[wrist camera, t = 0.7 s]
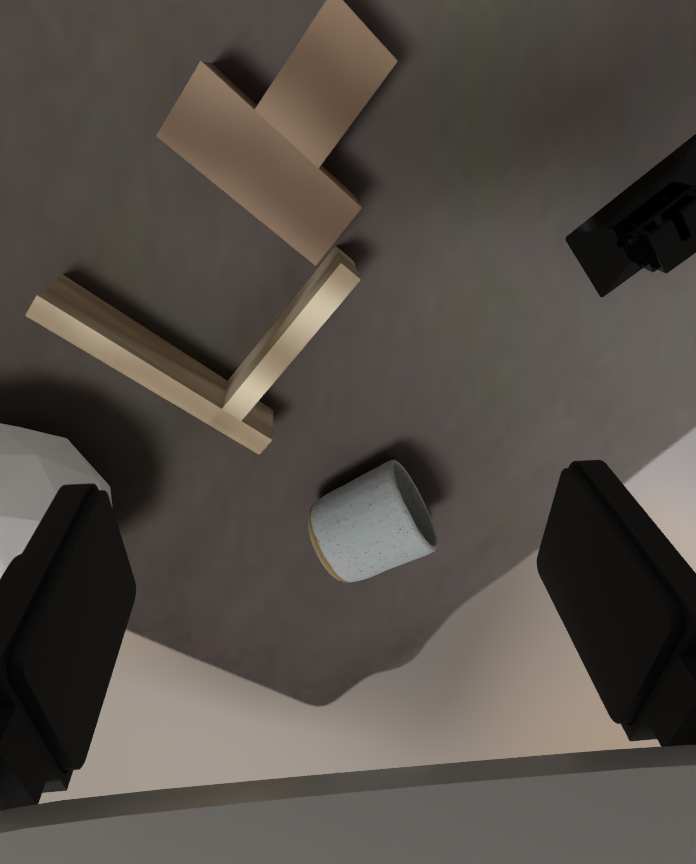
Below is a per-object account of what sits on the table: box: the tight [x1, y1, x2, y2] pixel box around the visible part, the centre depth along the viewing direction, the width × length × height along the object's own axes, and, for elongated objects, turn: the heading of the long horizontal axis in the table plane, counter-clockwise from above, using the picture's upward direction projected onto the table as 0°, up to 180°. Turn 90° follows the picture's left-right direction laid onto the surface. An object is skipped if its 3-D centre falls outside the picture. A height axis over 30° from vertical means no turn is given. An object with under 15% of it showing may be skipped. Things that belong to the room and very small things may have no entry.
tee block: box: [156, 0, 398, 266], centre depth 28 cm, size 10×10×4 cm
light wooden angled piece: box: [25, 246, 361, 455], centre depth 33 cm, size 14×16×4 cm
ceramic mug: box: [308, 460, 438, 583], centre depth 42 cm, size 11×8×8 cm
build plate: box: [566, 134, 696, 297], centre depth 33 cm, size 12×7×5 cm, turn 130°
